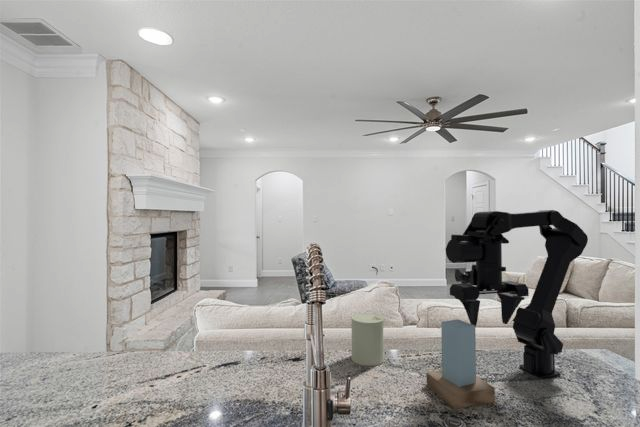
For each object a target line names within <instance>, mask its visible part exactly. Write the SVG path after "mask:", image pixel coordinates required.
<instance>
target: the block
mask: <svg viewBox="0 0 640 427" xmlns="http://www.w3.org/2000/svg"><path fill="white" fill-rule="evenodd" d="M440 326H441V327H440V328H441V330H440V331H441V333H440V334H441V370H442V377H443V378H445V379H447V380H448V381H450V382H452V383H453V384H455V385H456V386H458V387H461V386H465V385H469V384H473V383H476V376H477V358H476V356H477V354H476V353H477V352H476V351H477V348H476V339H477V338H476V327H475V325H472V324H471V323H470V322H466V321H463V320H461V319H458V318H457V319H452V320H445V321H441V325H440Z"/></svg>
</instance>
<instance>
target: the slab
mask: <svg viewBox="0 0 640 427" xmlns="http://www.w3.org/2000/svg"><path fill="white" fill-rule="evenodd" d="M426 386H427V387H429V388H430V389H431V390H432V391H433V392H434V393H435V394H436V395H437V396H438V397H440V398H441V399H442V400H443V401H445V402H446V403H447V405H449V406H450V407H452V408H453V409H460V408H468V407H473V406H480V405H486V404H491V403H492V404H493V403H495V402H496V396H495V395H496V393H495V390H496V389H495V387H494V386H492V385H490V383H488V382H486V381H485V380H483V379H481V378H480V377H479V376H477V375H476V383H473V384H469V385H465V386H461V387H458V386H456V385H455V384H453V383H452V382H450V381H448V380H447V379H445V378H443V377H442V369H440V370H433V371H426Z"/></svg>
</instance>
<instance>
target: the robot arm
mask: <svg viewBox="0 0 640 427" xmlns="http://www.w3.org/2000/svg"><path fill="white" fill-rule="evenodd" d="M471 217H472V218H471V220H470V222H469V224H468V226H467V227H466V229H465V230H464V232H463V233H462V234H451V235H450V236H451V237H450V238H451V239H450V240H449V241H448V242H447V244H446V247H445V254H446V257H447V259H448V261H449V262H451V263H454V264H458V263H459V264H461V263H475V264H472V265H471V270H469V271H468V270H467V271H466V270H465V269H464V268H457V269H454V270H455V271H454V279H455V281H456V282H457V283H453V284H451V285H450V287H449V296H452V297H454V299H456V300H458V301H460V303H461V304H462V306H463V308H464V310H465V312H466V314H467V318H468V320H469V324H472V325H475V328H476V327H477V323H478V317H479V311H480V305H481V300H479V299H478V298H479V297H480V295H490V294H491V295H493V294H494V295H495V294H496V295H497V296H498V298H499V300H500V308H501V310H500V311H501V321H502V324H504V325H508V323H509V321H510V320H511V318H512V316H513V314H514V313H515V316H514V318H512V320H511V321H512V322H513V324H512V330H513V331H514V334H515V336H516V340H517V342H518V343H521V344H523V353H522V354H523V356H522V358H523V359H522V360H523V364H519V368H521V369H522V370H524V371H526V372H528V373H531V374H532V375H534V376H536V377H538V378H539V379H544V378H545V379H546V378H552V377H557V376H561V372H559V371H557V370H555V369H556V368H555V367H556V366H555V364H556V363H555V356H556V355H558V354H560V353H562V352H563V348H564V343H563V342H562V341H561V340H560V338H558V337H557V335H556V334H555V330H556V324H555V320H554V316H553V311H554V308H555V307H556V303H557V300H558V297H559V295H560V292H561V289H562V286H563V284H564V281H565V278H566V275H567V273H568V271H569V270H568V269H569V267H570V264H571V263H572V262H573V261H575V260H576V259H577V258H579V257H580V256H581V255H582V254H583V252H584V249H585V248H586V247H587V245H588V240H589V239H588V235H587V234H586V233H585V230H583V228H581V227H580V226H579V225H578V224H577V223H575V222H573V221H572V220H569V219H568V218H566V217H564V216H563V215H562V214H561V213H560V212H559V211H558V210H554V209H548V210H547V209H545V210H544V209H543V210H540V209H539V210H538V211H530V212H529V211H528V212H517V213H510V212H506V211H499V210H495V211H493V210H492V211H491V210H490V211H478V212H475V213H474V214H473V216H471ZM552 226H553V227H554V228H553V227H552ZM530 227H531V228H532V227H539V233H540V235H541V236H542V237H543V239H544V240H545V242H544V247H545V250H546V254H547V257H546V260H545V262H544V265H543V268H542V271H541V273H540V276H539V279H538V281H537V284H536V287H535V290H534V292H533V294H532V297H531V300H530V303H529V304H528V305H527V306H525V307H524V308H523V307H521V306H520V307H519V305H520V304H521V302H522V301H523V300H525V297H529V295H530V294H529V287H528V286H527V285H526V284H525V283H522V282H517V281H513V280H508V281H507V280H505V281H504V280H503V272H506V271H507V267H506V266H503V260H502V259H503V258H502V256H503V255H502V253H503V252H502V249H503V248H502V247H503V246H502V244H504V245H505V244H510V241H509V239H508V238H506V237H505V236H504V235H503V234H505V233H508V232H510V231H512V230H514V229H519V228H530Z"/></svg>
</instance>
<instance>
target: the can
mask: <svg viewBox="0 0 640 427" xmlns="http://www.w3.org/2000/svg"><path fill="white" fill-rule="evenodd" d="M350 320H351V361H352V362H353V363H355V364H357V365H360V366H365V367H375V366H379V365H382V364H383V363H384V362H385V353H384V352H385V351H384V321H385V320H384V317H383V316H381V315H378V314H376V313H367V312H366V313H365V312H364V313H357V314H353V315H351V318H350Z"/></svg>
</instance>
